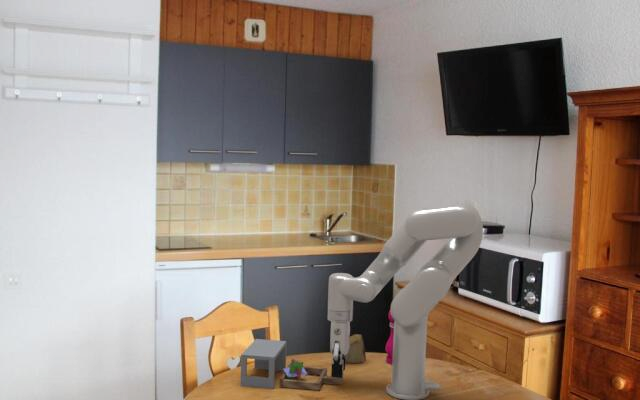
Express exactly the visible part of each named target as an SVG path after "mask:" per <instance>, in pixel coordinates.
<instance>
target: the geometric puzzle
mask: <svg viewBox="0 0 640 400" xmlns="http://www.w3.org/2000/svg"><path fill="white" fill-rule="evenodd" d="M288 365H290V368H287V367H286V368H285V367H284V368H283V370H284V371H283V373H284V372H285V373H286V375H287V376H288V379H287V380H299V381H301V379H304V376H309V374H307V372H306V371H307V370H306V371H305V369H304V368H303V366H304V361H299V360H296V359H292V358H291V361H290V362H289V364H288ZM306 367H307V366H305V368H306ZM301 376H303V377H302V378H301Z"/></svg>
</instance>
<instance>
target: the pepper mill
mask: <svg viewBox="0 0 640 400" xmlns="http://www.w3.org/2000/svg"><path fill="white" fill-rule="evenodd" d="M388 320H389V321H390V322H389V327H390V335H389V338H388V340H387V341H386V344H385V350H384V351H385V352H386V358H385V359H386V361H385V362H386V363H387V364H389V365H392V363H393V339H394V322H395V321H394V319H393V318H392V315H391V310H389V312H388Z"/></svg>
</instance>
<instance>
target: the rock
mask: <svg viewBox="0 0 640 400" xmlns="http://www.w3.org/2000/svg"><path fill="white" fill-rule="evenodd" d="M366 355H367V354H366V348H365V343H364V338H363V335H362V334H357V333H356V334H352V335H351V336H350V348H349V350H348V353H347V354H346V355H345V364H356V363H365V362H366V360H367V359H366V358H367V357H366Z"/></svg>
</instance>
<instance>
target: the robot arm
mask: <svg viewBox="0 0 640 400" xmlns="http://www.w3.org/2000/svg"><path fill="white" fill-rule="evenodd" d="M483 227H484V226H483V222H482V218H481V215H480V213H479V211H478V209H476V207H475V206H474V205H472V204H470V203H465V202H464V203H463V202H462V203H459V204H456V205H455V206H451V207H443V208H442V207H441V208H432V209H429V208H428V207H427V208H426V207H419V208H416V209H414V210H413V211H412V212H410V213H409V214H408V215H407V217H406V219H405V220H404V221H403V222H402V224H401V225H400V226H399V227H398V228H397V230H396V231H395V232H394V233H393V234H392V235H391V236H390V237H389V239H388V240H387V241H386V242H385V243H384V245H383V246H382V249H381V251H380V253H379V254H378V255H377V257H375V259H374V260H373V261H372V262H371V263H370V265H368V267H367V268H366V269H365V270H364V272H363V273H362V274H361V275H360V276H357V277H354V276H353V275H351V274H350V273H345V272H335V273H331V275H329V277H328V291H327V296H328V297H327V320H328V321H330V341H329V348H330V349H329V351H330V354H331V355H332V361H331V371H330V372H331V375H330V376H332V377H338V378H342V369H343V372H344V371H345V370H346V363H345V355H346V354H347V353H348V350H349V348H350V335H351V325H350V323H351V322H352V321H353V320H354V319H353V317H354V316H353V315H354V301H355V302H358V303H369V302H372V301H373V300H374V299H375V298H376V296H377V295H378V294H379V293H380V292H381V291H382V289H383V288H384V287H385V286H386V285H387V284H388V283H389V282H390V281H391V279H392V278H393V277H394V276H395V275H396V274H397V273H398V271H399V270H401V269H402V268H403V267H404V266H406V265H407V264H408V262H409V261H410V260H411V259H413V257H414V256H415V255H416V254H417V252H418V251H419V250H420V249H421V248H422V247H423V246H424V245H425V243H426V242H427V241H436V240H445V239H447V241H446V242H445V243H444V244H443V246H442V247H441V248H440V249H439V250H438V252H436V254H434V256H433V257H432V258H431V259H429V261H427V262H426V263H425V264H423V266H421V268H420V269H419V270H418V271H417V273H416V274H415V275H414V276H413V278H412V279H410V281H409V282H408V283H407V284H406V285H405V286H404V287H402V288H401V289H400V290H398V292H397V293H396V295H395V296H394V298H393V299H392V301H391V303H390V310H391V315H392V318H393V319H394V321H395V322H394V339H393V363H392V364H391V366H392V368H391V383H389V384H387V385H386V386H385V387H386V388H385V392H386V393H387V394H388V395H389V396H391V397H393V398H395V399H400V400H423V399H426V398H428V397H429V396H430V390H432V391H440V390H441V384H440V383H437V382H436V381H432V380H430V381H429V380H428V379H426V378H427V376H426V355H427V353H426V352H427V333H428V320H429V319H428V318H429V313H430V312H432V310H433V309H434V308H435V306H436V305H438V303H439V302H441V301H442V299H443V298H444V297H445V296H446V294H447V293H449V290H450V288H451V285H452V284H453V281H454V280H455V279H456V278H457V276H458V275H459V274H460V273H461V272H462V271H463V270H464V269H465V267H466V266H468V264H469V262H471V261H472V259H473V258H474V257H475V255H477V253H478V251H479V248H480V247H481V244H482V241H483V235H484V228H483ZM390 310H389V311H390ZM342 359H343V360H344V364H342Z"/></svg>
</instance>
